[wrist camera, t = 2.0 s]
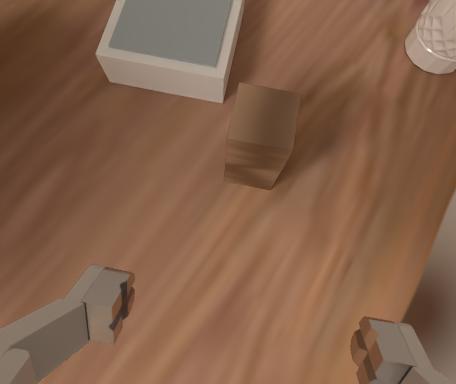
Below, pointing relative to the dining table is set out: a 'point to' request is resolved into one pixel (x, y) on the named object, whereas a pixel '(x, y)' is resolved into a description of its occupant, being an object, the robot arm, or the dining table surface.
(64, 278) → the dining table surface
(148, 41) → the base tray
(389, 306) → the dining table surface
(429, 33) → the white cup
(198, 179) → the dining table surface
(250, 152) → the walnut block
